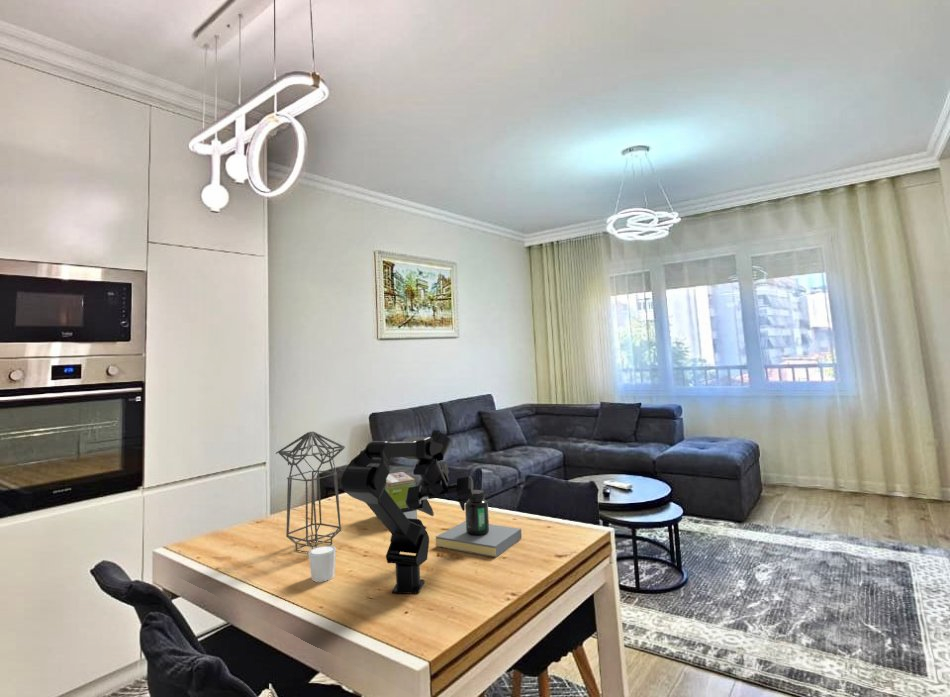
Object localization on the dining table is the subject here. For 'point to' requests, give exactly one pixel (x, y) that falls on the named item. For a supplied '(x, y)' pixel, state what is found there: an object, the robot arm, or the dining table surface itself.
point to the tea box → (400, 491)
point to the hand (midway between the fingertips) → (448, 512)
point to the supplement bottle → (477, 514)
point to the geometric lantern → (297, 448)
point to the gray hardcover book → (479, 540)
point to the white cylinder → (322, 563)
